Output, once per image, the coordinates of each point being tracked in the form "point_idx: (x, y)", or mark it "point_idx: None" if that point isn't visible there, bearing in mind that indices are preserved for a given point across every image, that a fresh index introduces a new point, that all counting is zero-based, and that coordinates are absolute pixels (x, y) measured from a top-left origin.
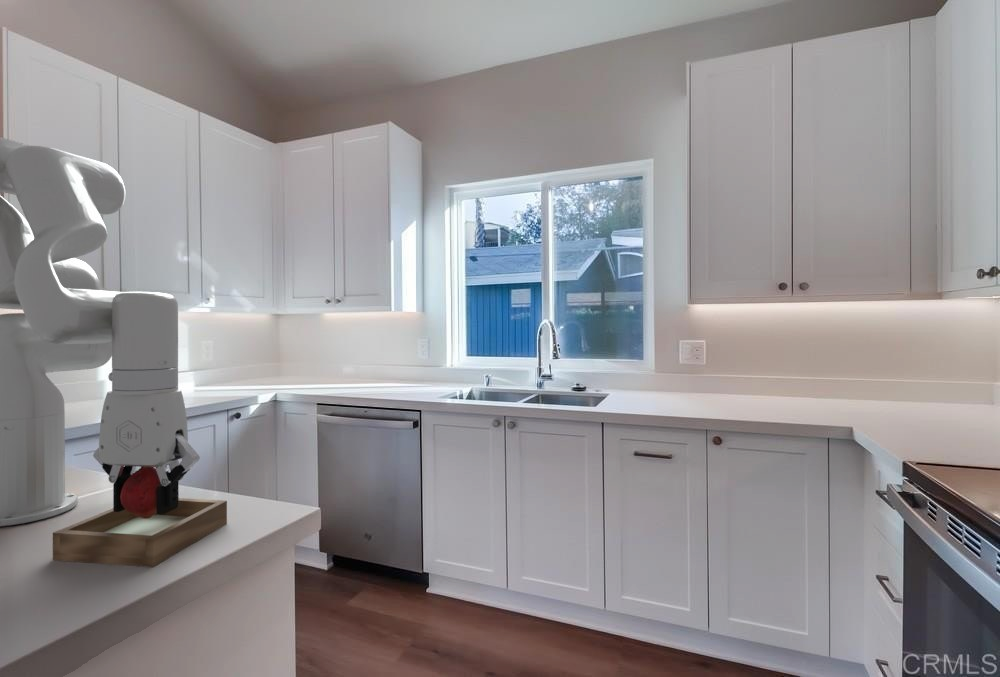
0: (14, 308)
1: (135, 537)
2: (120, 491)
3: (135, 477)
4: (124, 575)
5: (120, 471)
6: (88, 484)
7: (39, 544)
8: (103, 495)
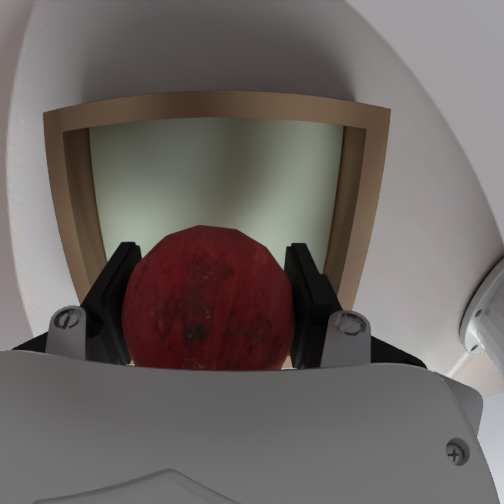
0: None
1: (94, 107)
2: (298, 291)
3: (203, 331)
4: (111, 60)
5: (322, 360)
6: (466, 383)
7: (439, 186)
8: (439, 370)
